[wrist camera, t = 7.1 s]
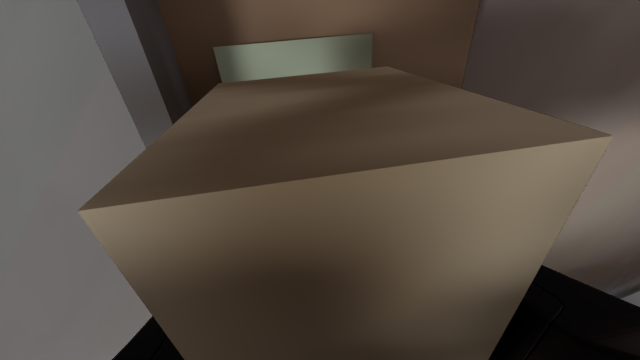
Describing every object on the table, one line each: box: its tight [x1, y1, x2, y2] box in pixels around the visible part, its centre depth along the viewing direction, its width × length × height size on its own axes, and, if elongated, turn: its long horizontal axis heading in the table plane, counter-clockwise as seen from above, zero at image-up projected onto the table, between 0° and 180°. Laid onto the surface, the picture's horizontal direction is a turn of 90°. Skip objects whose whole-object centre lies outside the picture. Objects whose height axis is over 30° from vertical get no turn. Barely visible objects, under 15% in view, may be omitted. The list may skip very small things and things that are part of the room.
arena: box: [77, 0, 480, 149], centre depth 11 cm, size 18×14×3 cm
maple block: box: [77, 66, 614, 360], centre depth 7 cm, size 5×9×6 cm, turn 4°
